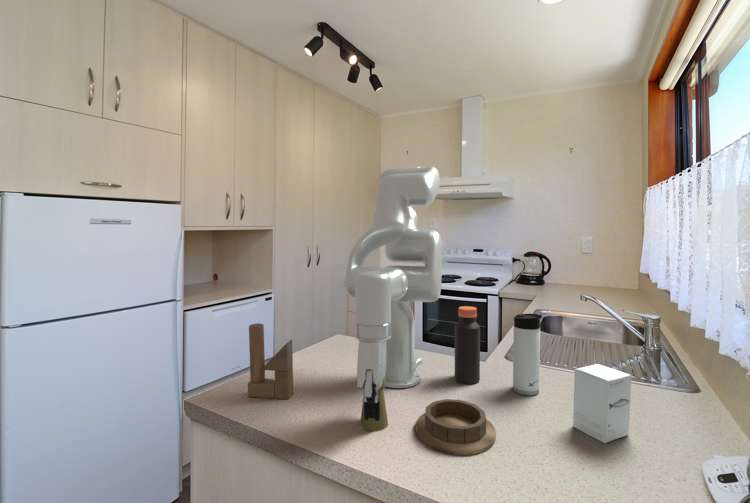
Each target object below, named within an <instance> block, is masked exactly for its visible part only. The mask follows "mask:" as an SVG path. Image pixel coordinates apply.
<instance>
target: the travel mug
mask: <svg viewBox="0 0 750 503" xmlns="http://www.w3.org/2000/svg"><path fill="white" fill-rule="evenodd" d="M542 318H543V315H542V314H537V313H520V314H516V315H515V316H513V322H514V323H513V339H512V340H513V343H512V344H513V345H512V347H513V350H512V352H513V354H512V391H514V392H516V393H517V394H519V395H523V396H531V397H532V396H535V395H538V394H539V393H540V360H541V357H540V356H541V354H540V353H541V352H540V351H541V320H542Z"/></svg>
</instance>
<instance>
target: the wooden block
mask: <svg viewBox="0 0 750 503" xmlns="http://www.w3.org/2000/svg"><path fill="white" fill-rule="evenodd" d="M264 330H265V327H264V324H263V323H252V324H250V325H248V339H249V341H248V342H249V370H250V372H249V373H250V374H249V375H250V376H249V377H250V378H249V379H250V381H249V382H247V397H248V398H260V399H261V398H262V399H276V400H289V399H290V398H291V397H292V396H293V394H294V371H293V370H294V369H293V362H294V361H293V356H294V355H293V339H290V340H289V341H288V342H286V343H285V344H284V345H283V347H281V348H280V349H279V351H278V352H276V354H274V356H272V357H271V359H269V360H268V362H266V360H265V358H266V357H265V355H266V354H265V331H264ZM266 371H273V372H274V378H266Z"/></svg>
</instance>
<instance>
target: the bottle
mask: <svg viewBox="0 0 750 503" xmlns="http://www.w3.org/2000/svg"><path fill="white" fill-rule="evenodd" d="M457 314H458V318H459V320H458V321H457V323H456V324H455V325H454V379H455V381H457V382H459V383H461V384H464V385H465V384H466V385H473V384H477V383H479V381H480V377H481V376H480V375H481V374H480V372H481V365H480V364H481V326H480V325H479V324H478V322H477V320H476V319H477V318H478V315H477V314H478V308H477V307H475V306H467V305H466V306H465V305H464V306H463V305H462V306H459V307H458V312H457Z"/></svg>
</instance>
